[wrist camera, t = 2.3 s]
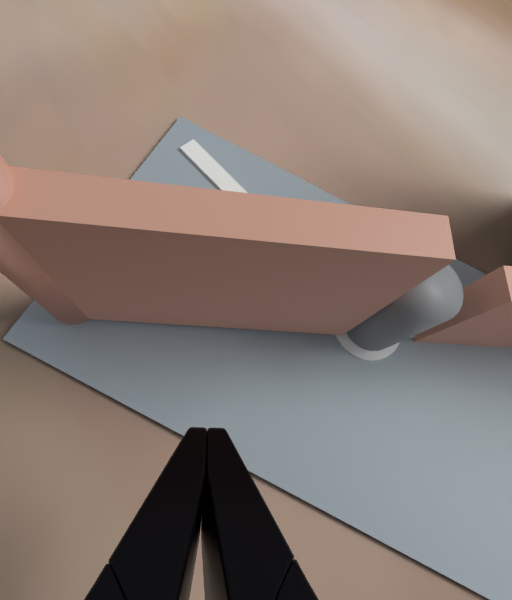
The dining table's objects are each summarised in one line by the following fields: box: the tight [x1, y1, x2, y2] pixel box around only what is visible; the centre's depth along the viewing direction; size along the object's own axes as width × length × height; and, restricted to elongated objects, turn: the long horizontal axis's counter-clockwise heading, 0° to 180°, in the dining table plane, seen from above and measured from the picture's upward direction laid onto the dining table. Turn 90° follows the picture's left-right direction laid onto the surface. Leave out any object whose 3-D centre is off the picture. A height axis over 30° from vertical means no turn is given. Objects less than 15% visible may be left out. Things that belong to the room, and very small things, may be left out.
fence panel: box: [0, 155, 463, 351], centre depth 14 cm, size 16×3×9 cm, turn 89°
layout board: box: [3, 117, 512, 600], centre depth 19 cm, size 15×25×1 cm, turn 64°
